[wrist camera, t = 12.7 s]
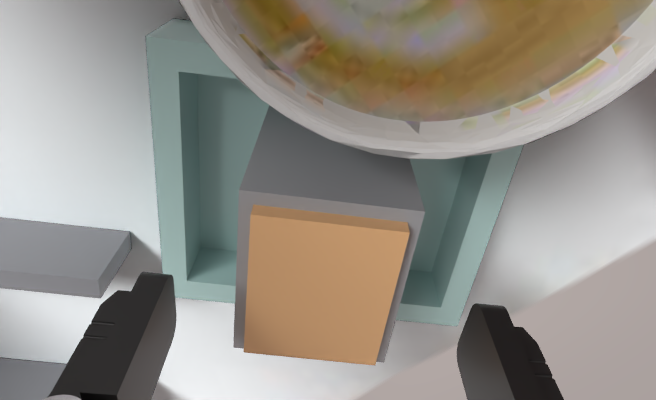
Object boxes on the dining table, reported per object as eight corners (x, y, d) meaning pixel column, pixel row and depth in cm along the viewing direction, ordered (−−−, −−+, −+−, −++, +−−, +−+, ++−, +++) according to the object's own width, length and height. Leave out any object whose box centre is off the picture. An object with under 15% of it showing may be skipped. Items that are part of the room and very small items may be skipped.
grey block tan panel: (270, 100, 19) (235, 199, 12) (397, 116, 19) (428, 221, 12) (262, 227, 22) (230, 359, 15) (371, 239, 22) (385, 375, 15)
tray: (173, 18, 18) (145, 36, 15) (515, 63, 18) (544, 87, 16) (183, 254, 23) (164, 296, 21) (444, 281, 24) (457, 326, 21)
